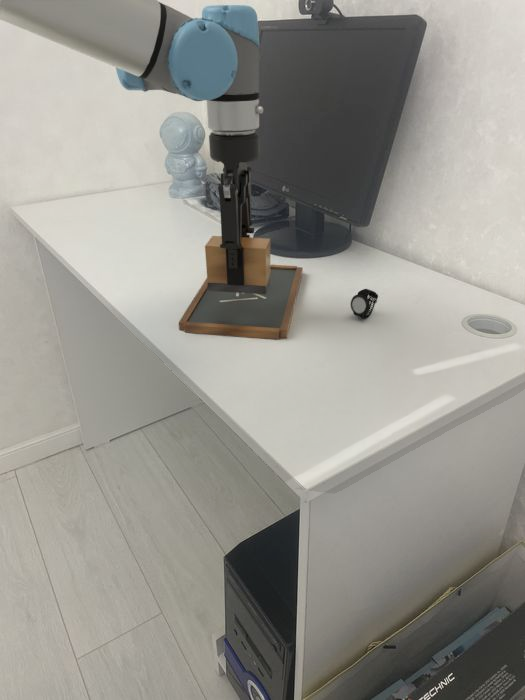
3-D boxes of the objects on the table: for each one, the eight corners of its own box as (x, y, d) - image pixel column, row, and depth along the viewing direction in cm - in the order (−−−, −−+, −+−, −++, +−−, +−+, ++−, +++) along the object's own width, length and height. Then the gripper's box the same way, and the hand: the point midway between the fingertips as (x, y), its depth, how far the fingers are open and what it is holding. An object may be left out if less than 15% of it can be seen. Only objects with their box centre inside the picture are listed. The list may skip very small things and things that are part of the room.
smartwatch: (346, 314, 92) (348, 289, 90) (371, 309, 94) (374, 284, 91) (358, 324, 89) (361, 298, 86) (384, 319, 91) (387, 293, 88)
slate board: (178, 332, 87) (177, 324, 86) (217, 268, 111) (217, 261, 110) (286, 340, 85) (286, 332, 84) (302, 273, 109) (302, 266, 108)
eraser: (207, 290, 88) (204, 245, 84) (214, 279, 92) (212, 235, 88) (266, 294, 86) (265, 248, 82) (270, 282, 91) (270, 238, 86)
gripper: (248, 142, 68) (251, 301, 80) (268, 122, 83) (268, 259, 95) (192, 141, 69) (204, 298, 81) (223, 121, 84) (229, 257, 96)
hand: (239, 277), depth 88 cm, fingers closed on eraser, 5 cm apart
